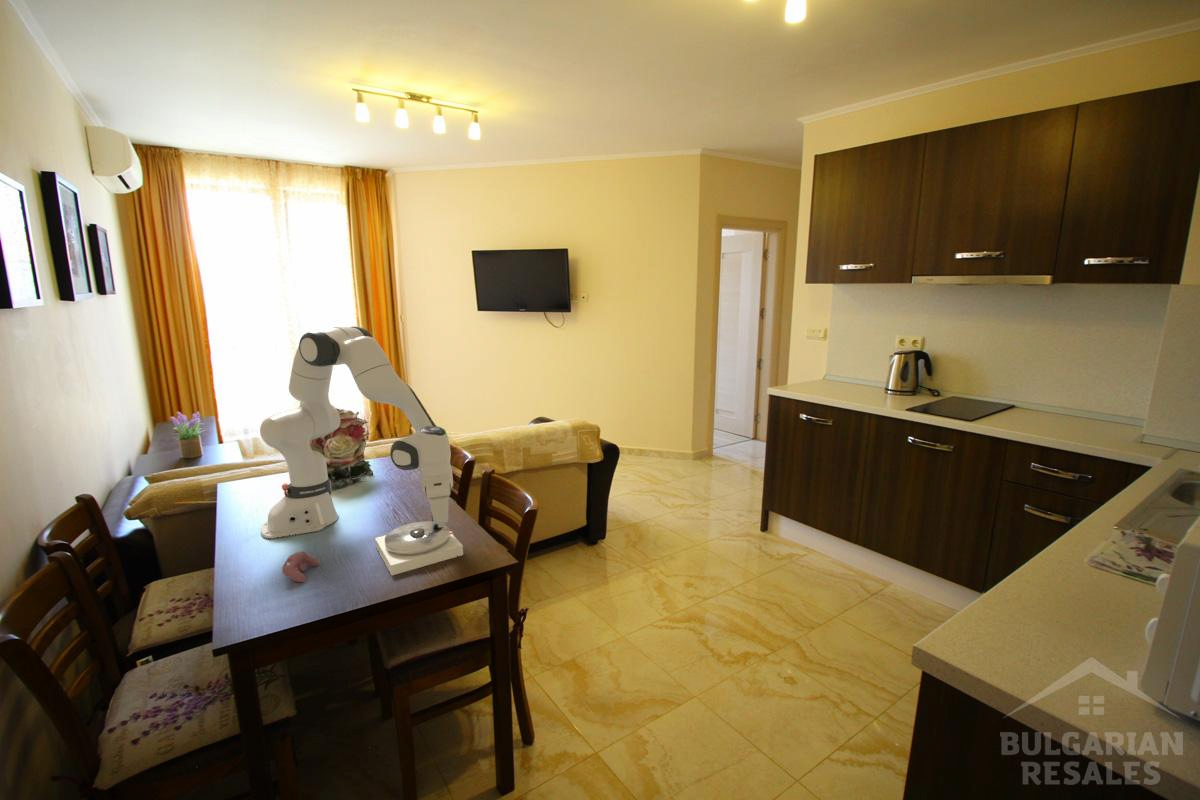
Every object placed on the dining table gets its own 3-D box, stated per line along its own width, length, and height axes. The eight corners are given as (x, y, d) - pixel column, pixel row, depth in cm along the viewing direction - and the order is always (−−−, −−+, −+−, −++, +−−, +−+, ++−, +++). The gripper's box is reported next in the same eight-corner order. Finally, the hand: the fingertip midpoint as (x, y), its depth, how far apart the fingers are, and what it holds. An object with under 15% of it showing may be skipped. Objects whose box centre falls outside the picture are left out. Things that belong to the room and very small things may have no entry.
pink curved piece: (307, 570, 150) (292, 550, 149) (321, 563, 150) (307, 543, 149) (290, 589, 141) (275, 568, 139) (305, 581, 141) (290, 560, 139)
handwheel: (401, 562, 144) (398, 534, 143) (375, 540, 157) (372, 515, 156) (460, 540, 157) (458, 515, 155) (432, 522, 169) (430, 498, 168)
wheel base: (391, 575, 144) (390, 564, 143) (376, 547, 160) (374, 537, 160) (464, 554, 155) (463, 544, 154) (442, 530, 171) (441, 520, 171)
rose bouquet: (293, 481, 218) (283, 410, 212) (365, 464, 238) (358, 399, 232) (312, 497, 200) (302, 420, 194) (389, 478, 220) (382, 407, 214)
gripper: (425, 472, 164) (429, 514, 166) (426, 494, 145) (430, 542, 147) (446, 469, 166) (450, 511, 168) (450, 491, 147) (454, 538, 149)
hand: (441, 526), depth 158 cm, fingers closed
